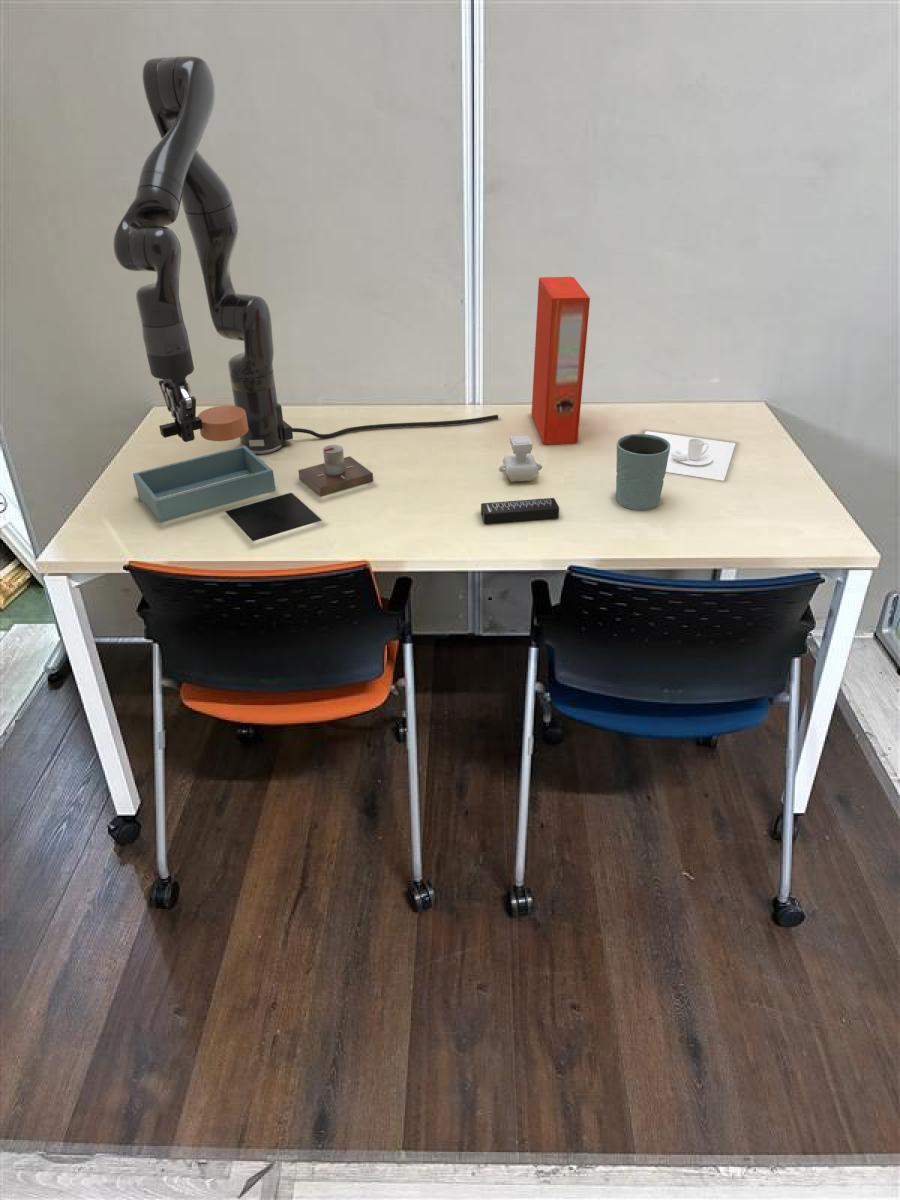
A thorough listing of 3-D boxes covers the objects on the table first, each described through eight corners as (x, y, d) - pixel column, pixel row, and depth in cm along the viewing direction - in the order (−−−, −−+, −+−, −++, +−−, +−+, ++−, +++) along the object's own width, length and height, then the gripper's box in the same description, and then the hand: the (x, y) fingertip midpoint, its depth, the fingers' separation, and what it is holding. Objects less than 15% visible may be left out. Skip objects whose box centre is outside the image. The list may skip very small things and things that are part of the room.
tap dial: (339, 465, 178) (337, 441, 175) (348, 472, 175) (346, 448, 172) (322, 470, 176) (319, 446, 173) (330, 477, 173) (328, 453, 170)
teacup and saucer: (667, 463, 183) (670, 445, 181) (674, 448, 189) (676, 431, 187) (709, 469, 180) (712, 451, 178) (715, 454, 187) (718, 437, 184)
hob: (292, 497, 173) (291, 492, 172) (322, 525, 163) (322, 520, 162) (225, 516, 166) (224, 511, 166) (253, 546, 157) (252, 541, 156)
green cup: (631, 516, 164) (638, 458, 157) (600, 495, 172) (605, 439, 165) (673, 504, 168) (682, 447, 161) (641, 484, 175) (648, 429, 169)
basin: (248, 469, 184) (245, 445, 181) (276, 495, 174) (272, 470, 170) (138, 498, 173) (132, 473, 170) (161, 527, 163) (155, 501, 160)
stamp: (500, 486, 176) (501, 447, 171) (496, 472, 181) (497, 434, 176) (544, 483, 176) (546, 445, 171) (538, 469, 182) (540, 432, 177)
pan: (237, 418, 170) (234, 400, 168) (255, 433, 164) (252, 414, 162) (157, 438, 163) (152, 419, 161) (173, 455, 157) (168, 435, 154)
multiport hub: (559, 518, 164) (559, 507, 163) (484, 524, 162) (484, 513, 161) (553, 507, 167) (554, 497, 166) (480, 513, 166) (480, 503, 165)
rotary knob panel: (351, 468, 183) (349, 455, 181) (373, 486, 176) (372, 472, 175) (299, 483, 178) (298, 469, 176) (321, 501, 171) (319, 487, 169)
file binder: (564, 414, 207) (573, 276, 189) (578, 443, 193) (590, 297, 175) (531, 415, 206) (537, 277, 188) (543, 444, 192) (550, 298, 174)
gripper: (202, 353, 148) (219, 445, 158) (175, 333, 158) (192, 422, 168) (159, 362, 145) (179, 456, 155) (134, 341, 154) (155, 431, 164)
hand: (186, 437), depth 161 cm, fingers closed on pan, 2 cm apart
